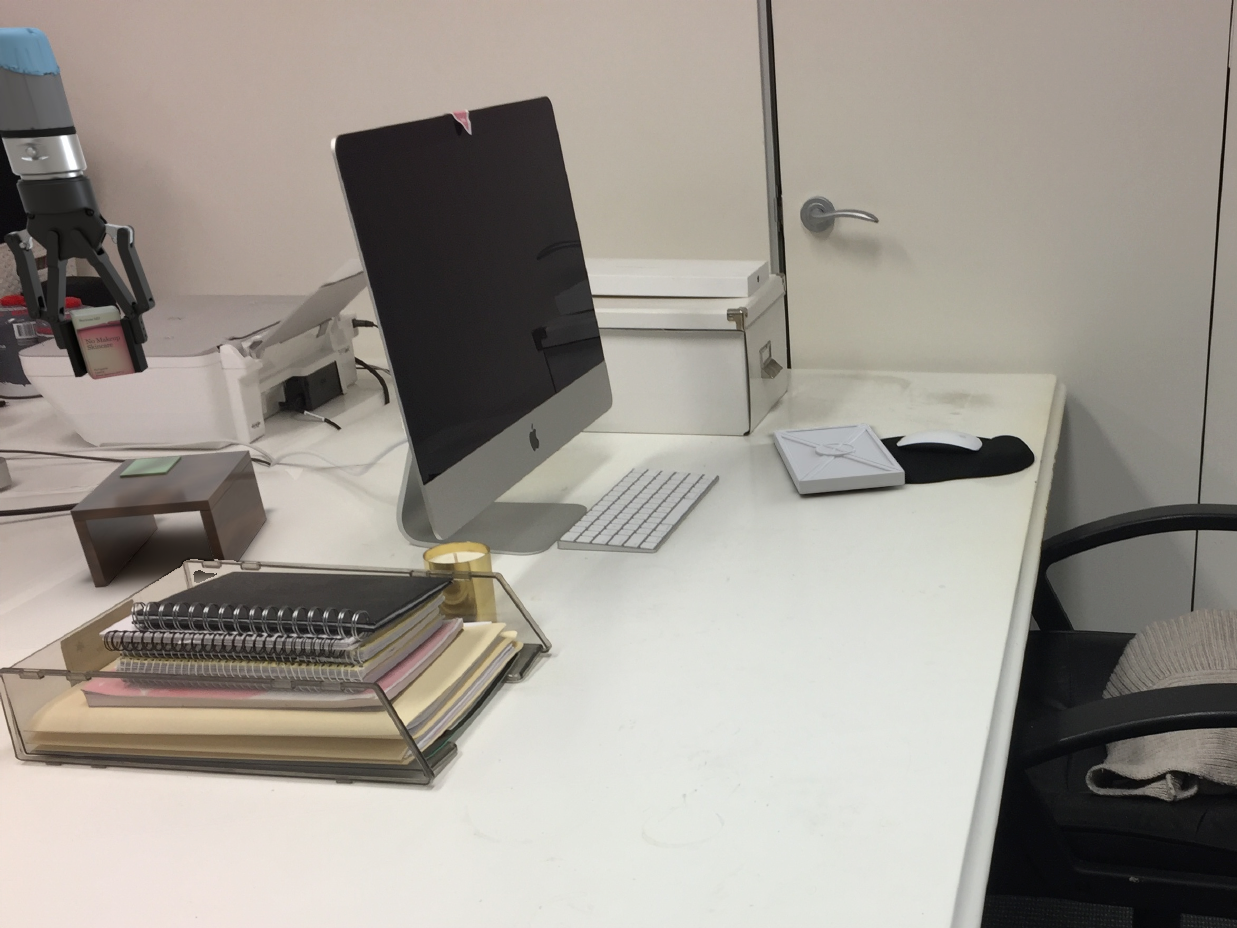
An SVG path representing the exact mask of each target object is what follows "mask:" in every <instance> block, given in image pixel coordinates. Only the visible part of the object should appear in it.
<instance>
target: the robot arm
mask: <svg viewBox="0 0 1237 928" xmlns="http://www.w3.org/2000/svg"><path fill="white" fill-rule="evenodd" d="M69 105H70V104H69V102H68V97H67V94H66V91H65V87H64V84H63V79H62V76H61V67H60V65H59V64H58V62H57V60H56V57H55V54H54V52H53V49H52V46H51V43H50V41H49V38H48V35H46V33H45V32H43V30H41V29H40V28H37V27H33V26H31V27H29V26H28V27H25V26H24V27H21V26H20V27H19V26H18V27H0V137H1V139H2V143H3V146H4V150H5V152H6V155H7V158H8V161H9V165H10V167H11V172H12V173H13V174H14V175H15V176H20V179H18V180H17V183H16V188H17V190H18V193H19V197H20V200H21V202H22V206H23V210H24V212H25V214H26V216H27V217H26V218H27V222H26V228H25V229H23V230H20V231H18V230H16V231H12V232H10V233H7V234H5V235H4V237H3V240H4V242H5V243H6V246H7V247H8V249H9V250H10V252H11V253H12V255H13V257H14V261H15V265H16V269H17V274H18V278H19V282H20V286H21V290H22V294H23V299H24V303H25V306H26V310H27V314H28V316H29V318H30V319H32V320H41V321H44V322H46V323H47V324H49V326H50V330H51V332H52V335H53V337H54V341H55V344H56V346H57V348H58V350H66V352H67V355H68V359H69V362H70V366H71V368H72V372H73V375H74V378H83V377H84V376H86V375H88V372H87V369H86V366H85V363H84V359H83V356H82V353H81V350H80V347H79V343H78V340H77V337H76V334H75V330H74V327H73V324H72V320H71V318H70V319H66V318H67V317H68V314H66V291H67V267H68V266H67V265H68V264H69V260H70V259H73V258H75V259H79V260H83V259H85V260H86V261H87V263H88V264H89V265H90V266H91V267H93V269H94V270H95V271H96V273H97V275H98V276H99V278H100V279H101V281H102V282H103V284H104V285H105V287H106V289H107V290H108V292H109V293H110V294H111V297H112V298H113V299H114V300H115V302H116V305H118V307H119V308H120V310H121V311H122V313H123V314H124V315H123V317H121V320H120V323H121V327H122V330H123V333H124V337H125V340H126V343H127V347H128V350H129V354H130V357H131V360H132V364H133V367H134V370H135V373H134V374H140V373H143V372H144V371H146V370H147V369H148V368H149V364H148V361H147V357H146V354H145V351H144V348H143V345H144V344H145V343H146V342H148V339H149V336H148V333H147V330H146V326H145V322H144V319H143V314H145V313H147V312H149V311H150V310H153V309H154V308H155V307H156V301H155V298H154V295H153V292H152V290H151V288H150V284H149V281H148V278H147V275H146V273H145V270H144V268H143V265H142V263H141V260H140V257H139V254H138V251H137V249H136V246H135V238H136V237H135V231H136V230H135V228H134V227H133V226H132V225H130V224H126V225H119V224H114V223H108V221H107V219H106V218H105V217H104V216H103V215H102V213H101V211H100V206H99V203H98V200H97V197H96V193H95V188H94V186H93V182H92V179H91V177H89V176H88V175H87V174H84V172H83V171H86V170H87V169H88V165H87V162H86V158H85V156H84V152H83V149H82V145H81V142H80V138H79V136H78V133H77V128H76V126H75V123H74V120H73V116H72V112H71V109H70V106H69ZM107 234H108V236H109V237H110V239H111V241H112V243H114V244H115V245H116V248H117V252H118V255H119V258H120V260H121V263H122V266H123V268H124V269H123V270H124V272H125V274H126V276H127V281H128V282H129V285H130V288H131V290H132V292H131V290H130V289H129V288H128V286H127V284H126V283H125V281H124V280H123V278H122V276H121V275H120V274H119V271H117V269H116V267H115V266H114V265H113V262H112V261H111V260H110V255H109V254H108V252H107V251H106V249H105V248H104V246H103V243H104V241H105V239H106V236H107ZM33 240H34V241H36V242H37V243H38V244H39V245H40V246H41V247H42V248H44V249H45V251H46V254H45V255H46V256H45V259H46V260H45V264H46V266H47V267H46V268H47V276H46V284H47V285H46V300H45V296H44V292H43V288H42V287H43V286H42V284H41V280H40V275H39V271H38V267H37V263H36V259H35V255H34V251H33V249H32V248H33V246H34V243H33ZM132 293H133V294H132Z"/></svg>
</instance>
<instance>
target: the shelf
mask: <svg viewBox="0 0 1237 928" xmlns="http://www.w3.org/2000/svg"><path fill="white" fill-rule="evenodd" d="M260 491H261V490H260V488H259V484H258V479H257V475H256V472H255V468H254V465H253V461H252V456H251V452H250V450H249V449H247V450H235V451H222V452H221V451H219V452H209V453H207V452H206V453H196V454H195V453H194V454H183V455H169V456H155V457H141V458H128V459H125V460H124V461H123V462H122V463H121V464H120V465H119V466H117V468H115V469H114V470H113V471H112V472H111V473H110V474H109V475H108V476H107V477H106V478H105V479H103V480H102V481H101V482H100V483H99V484H97V486H96V487H95V488H94V489H93V490H91V491H90V493H88V494H87V495H86V496H85V497H83V498H82V499H81V500H80V501H79V502H78V503H77V504H76V505H75V506H74V507H73V508H72V509H70V512H69V513H70V515H71V519H72V521H73V524H74V527H75V531H76V533H77V536H78V539H79V543H80V545H81V548H82V552H83V554H84V558H85V561H86V563H87V566H88V569H89V573H90V575H91V578H92V582H93V584H94V587H95V588H100V587H107V586H108V585H109V584H110V583H111V582H112V580H113V579H115V578H116V576H117V575H118V574H119V573H120V572H121V570H122V569H123V568H124V567H125V566H126V565H127V563H129V562H130V561H131V559H132V558H133V557H134V556H135V555H136V553H137V552H138V551H139V550H140V549H141V548H142V546H144V544H145V543H146V542H147V541H148V540H149V539H150V537H151V536H152V535H153V534H154V533H155V532H156V531H157V530H158V524H157V522H156V517H155V515H166V514H178V513H179V514H180V513H191V512H199V514H200V518H201V521H202V525H203V529H204V532H205V535H206V538H207V542H208V546H209V550H210V553H211V556H212V560H213V559H218V560H234V561H238V562H239V561H240V559H241V558H242V556H243V555H244V553H245V552H246V550H247V549H248V547H250V544H251V543H252V542H253V539H255V537H256V536H257V534H258V533H259V531H260V529H261V528H262V527H263V525H264V523H265V522H266V521H267V519H268V518H267V515H266V511H265V507H264V504H263V500H262V496H261V492H260Z"/></svg>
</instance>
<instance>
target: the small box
mask: <svg viewBox="0 0 1237 928" xmlns="http://www.w3.org/2000/svg"><path fill="white" fill-rule="evenodd" d="M68 313H69V317H70V319H71V320H72V324H73V327H74V330H75V334H76V337H77V340H78V343H79V347H80V350H81V353H82V356H83V359H84V363H85V366H86V369H87V372H88V373H87V375H88V376H89V377H90V378H91V379H92V380H95V381H96V380H102V379H108V378H114V377H121V376H128V375H133V374H134V375H135V374H136V373H135V370H134V367H133V364H132V360H131V357H130V354H129V350H128V347H127V343H126V340H125V337H124V333H123V330H122V327H121V323H120V320H121V319H122V315H121V312H120V310H119V309H118V308H117V307H116V306H115V305H107V306H98V307H91V308H89V307H88V308H82V309H74V310H70V311H69V312H68Z"/></svg>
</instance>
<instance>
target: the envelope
mask: <svg viewBox="0 0 1237 928" xmlns="http://www.w3.org/2000/svg"><path fill="white" fill-rule="evenodd" d="M772 433H773V444H774V445H775V447H776V449H777V451H778V453H779V456H780V457H781V459H782V461H783V464H784V465H785V468H786V470H787V472H788V473H789V476H790V478H791V480H792V482H793V483H794V485H795V487H796V490H797V491H798V494H800V495H805V494H816V493H827V492H828V493H829V492H838V491H839V492H840V491H849V490H859V489H860V490H861V489H870V488H881V487H893V486H902V485H903V486H904V485H905V484H906V479H905V478H906V477H905V476H906V475H905V474H906V473H905V470H904V469H903V467H902V466H901V465H900V464H899V462H897V461H898V460H896V458H894V456H893V455H892V453H891V452H890V451H889V449H888V448H887V447H886V446H885V445H884V444H883V443H884V442H882V440H881V439H880V438H879V436H878V435H876V433H875V432H874V430H873V429H872V428H871V427H870V425H869V424H868V423H866V422H863V423H849V424H840V425H837V424H836V425H828V426H826V425H825V426H815V427H804V428H803V427H802V428H791V429H790V428H789V429H779V430H773V432H772Z"/></svg>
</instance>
